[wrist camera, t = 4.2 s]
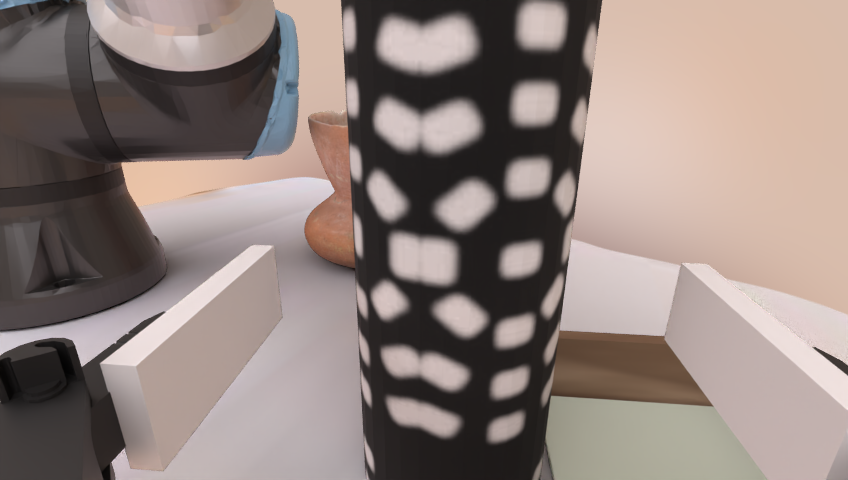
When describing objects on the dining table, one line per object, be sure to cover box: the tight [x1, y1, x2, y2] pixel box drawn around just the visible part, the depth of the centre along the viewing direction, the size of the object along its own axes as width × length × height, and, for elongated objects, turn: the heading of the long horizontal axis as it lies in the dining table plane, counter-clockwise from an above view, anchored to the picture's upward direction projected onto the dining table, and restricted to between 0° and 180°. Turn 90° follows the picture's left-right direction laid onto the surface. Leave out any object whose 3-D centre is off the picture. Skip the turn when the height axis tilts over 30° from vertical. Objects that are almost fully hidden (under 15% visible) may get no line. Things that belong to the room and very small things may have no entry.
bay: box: [545, 331, 768, 480], centre depth 20 cm, size 13×13×4 cm
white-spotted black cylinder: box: [341, 0, 602, 480], centre depth 18 cm, size 8×8×20 cm
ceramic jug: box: [305, 110, 355, 268], centre depth 44 cm, size 18×14×14 cm
